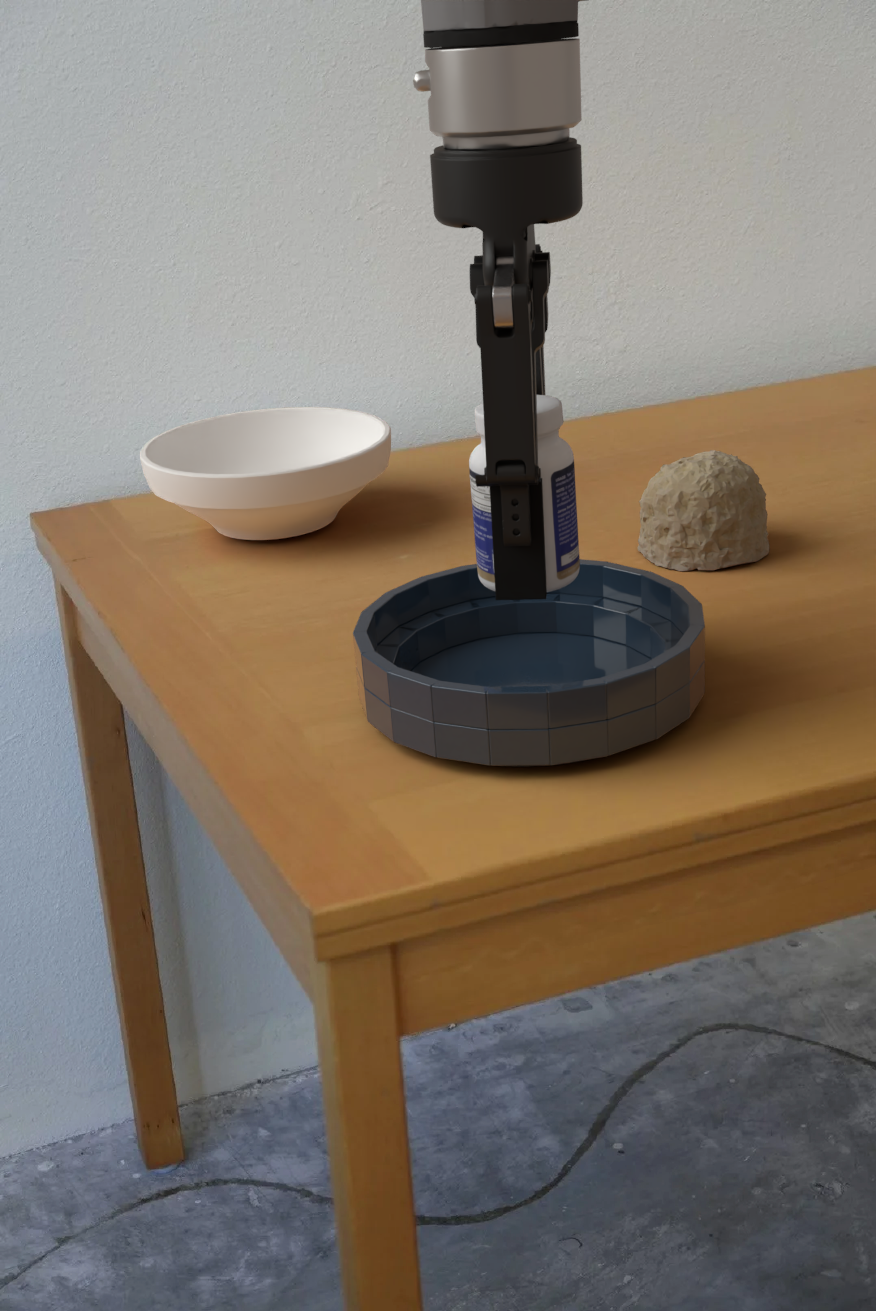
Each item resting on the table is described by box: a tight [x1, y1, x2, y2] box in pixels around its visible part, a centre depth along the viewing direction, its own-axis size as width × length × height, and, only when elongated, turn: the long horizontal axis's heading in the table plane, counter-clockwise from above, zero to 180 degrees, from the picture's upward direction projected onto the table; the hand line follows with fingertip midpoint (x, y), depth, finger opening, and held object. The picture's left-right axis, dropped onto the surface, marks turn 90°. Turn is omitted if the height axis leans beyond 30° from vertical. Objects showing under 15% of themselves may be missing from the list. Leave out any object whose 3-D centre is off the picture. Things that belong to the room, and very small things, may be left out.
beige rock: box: [637, 449, 770, 572], centre depth 104 cm, size 9×10×10 cm
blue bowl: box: [352, 558, 706, 768], centre depth 84 cm, size 20×20×5 cm
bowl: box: [139, 406, 392, 541], centre depth 116 cm, size 20×20×7 cm
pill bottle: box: [468, 395, 581, 592], centre depth 80 cm, size 6×6×10 cm
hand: (524, 574), depth 82 cm, fingers closed on pill bottle, 6 cm apart
